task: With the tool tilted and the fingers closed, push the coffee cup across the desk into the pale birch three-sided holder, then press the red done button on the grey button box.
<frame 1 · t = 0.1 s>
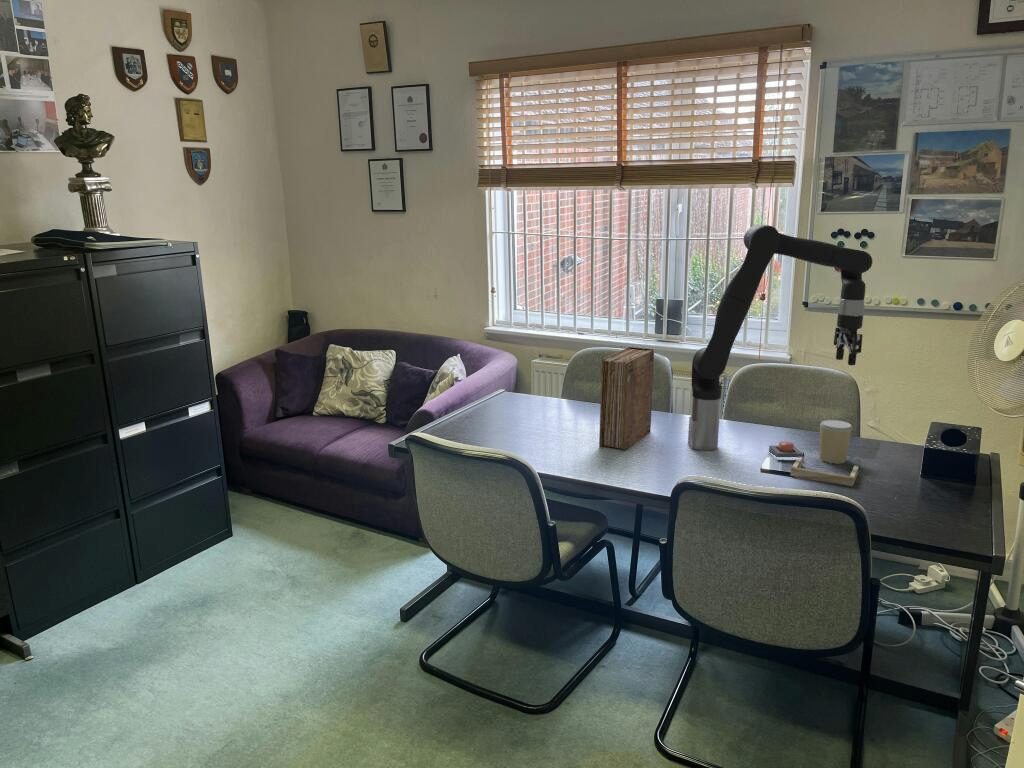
hand: (845, 362, 248), 29 cm above the table, tool pointing down, fingers open, 8 cm apart
brown plywood block: (625, 439, 263), on the table
done button: (786, 448, 244), point 3 cm above the table, slide at 0.0 cm
holder: (825, 472, 230), on the table
coffee cup: (832, 460, 242), on the table
button box: (785, 456, 245), on the table
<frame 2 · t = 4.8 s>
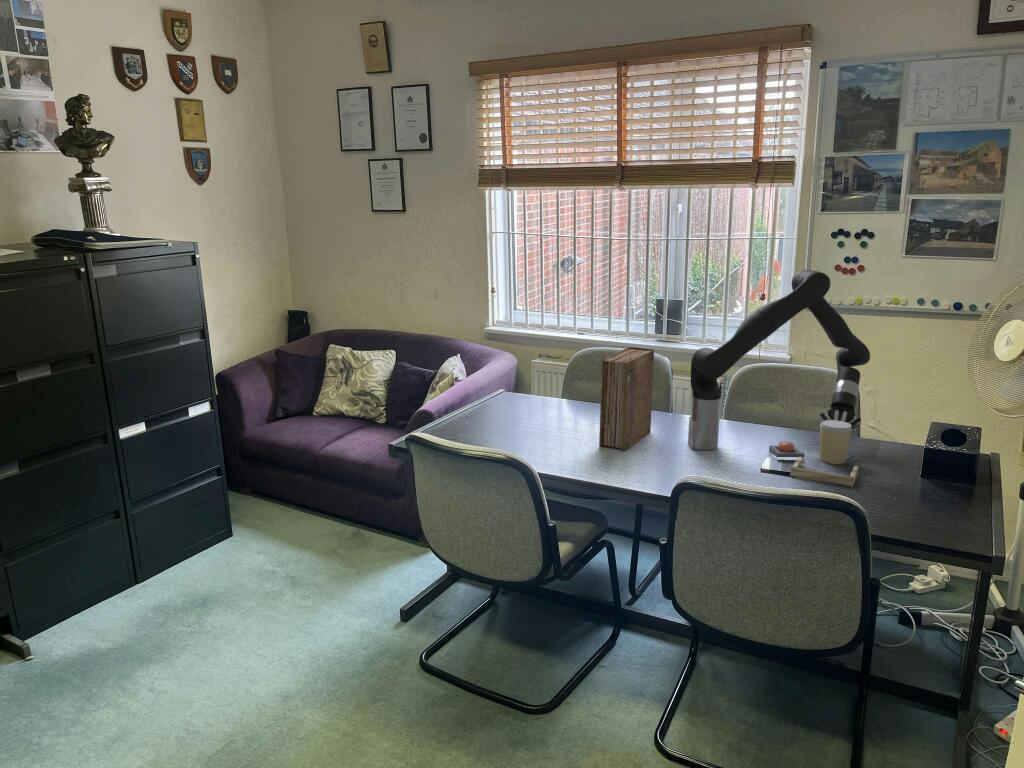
hand: (835, 441, 245), 5 cm above the table, tool tilted 45°, fingers closed
coffee cup: (832, 460, 242), on the table, touching gripper
everything else where it was.
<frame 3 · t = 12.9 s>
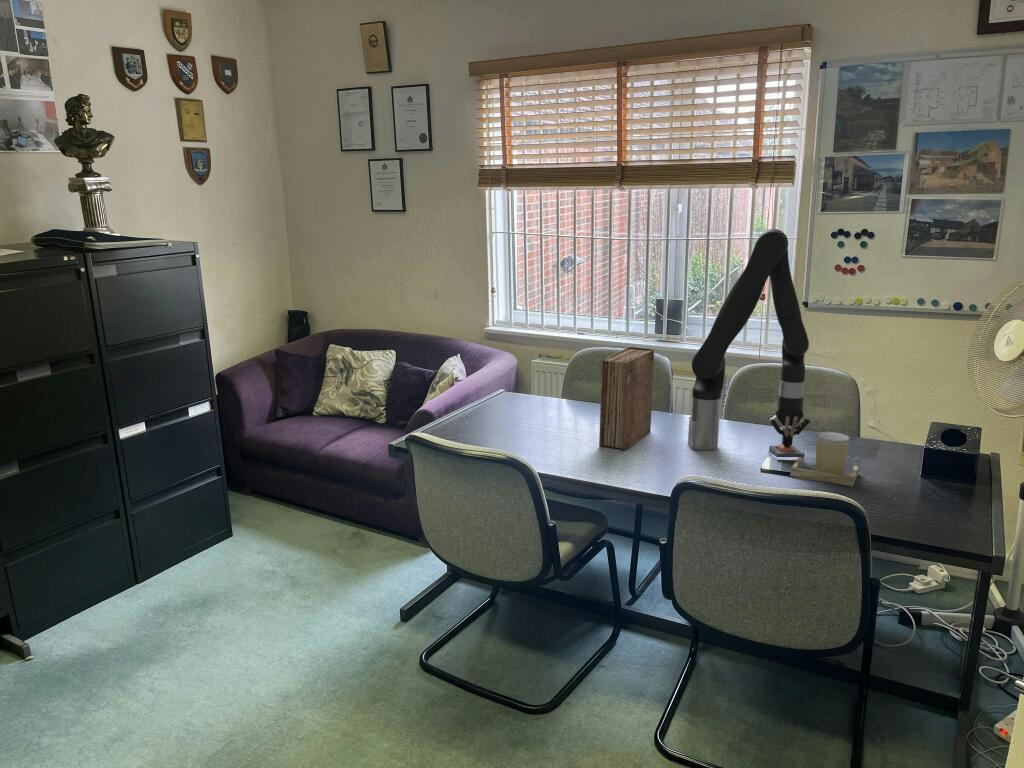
hand: (786, 446, 244), 3 cm above the table, tool pointing down, fingers closed
done button: (785, 450, 245), point 2 cm above the table, slide at 1.0 cm, touching gripper
coffee cup: (829, 474, 230), on the table
everything else where it was.
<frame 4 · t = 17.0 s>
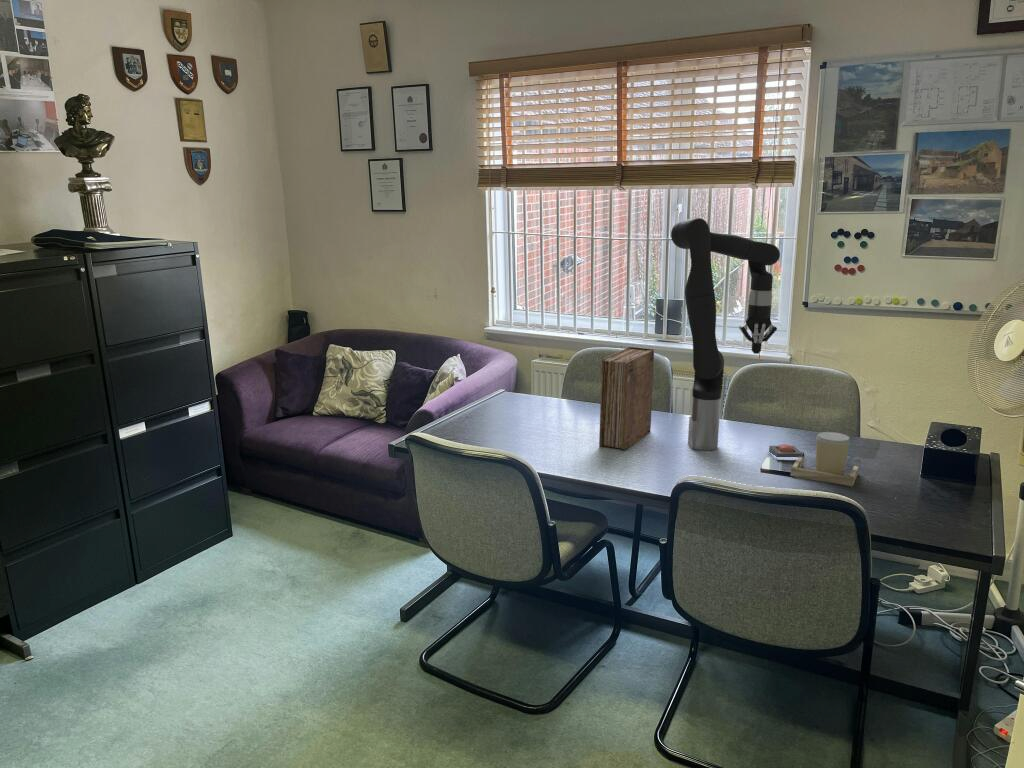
hand: (756, 353, 263), 29 cm above the table, tool pointing down, fingers closed
done button: (785, 451, 245), point 2 cm above the table, slide at 1.0 cm
everything else where it was.
at the end: coffee cup inside the target area (1.3 cm from its centre), on the table; coffee cup tilted 0°; done button slide at 1.0 cm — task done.
